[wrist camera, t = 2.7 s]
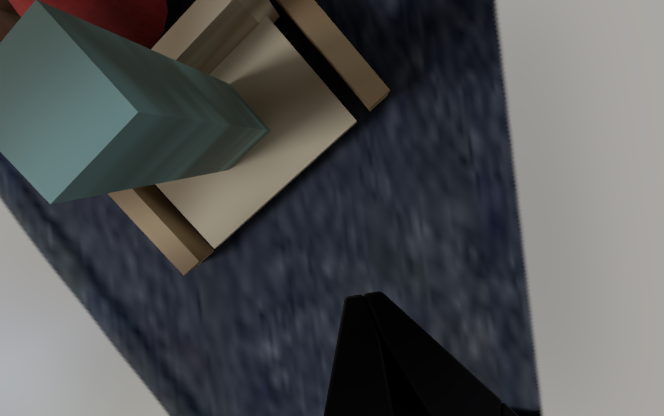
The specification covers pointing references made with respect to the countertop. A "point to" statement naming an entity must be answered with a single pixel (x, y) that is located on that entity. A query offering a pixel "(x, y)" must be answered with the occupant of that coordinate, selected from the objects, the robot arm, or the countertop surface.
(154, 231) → the guide rails
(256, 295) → the countertop surface
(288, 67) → the wooden open tray
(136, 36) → the onion
